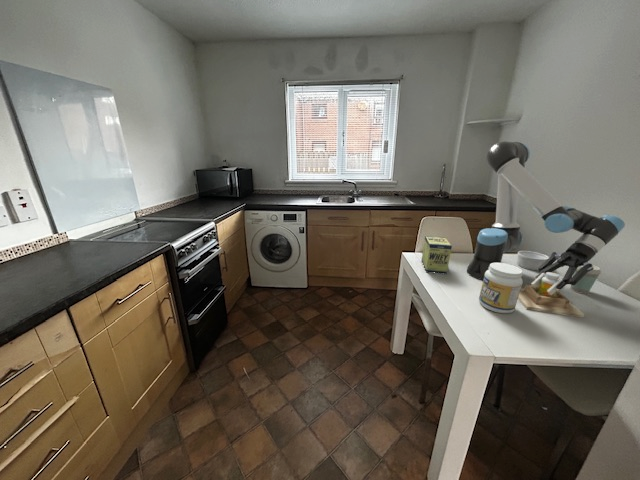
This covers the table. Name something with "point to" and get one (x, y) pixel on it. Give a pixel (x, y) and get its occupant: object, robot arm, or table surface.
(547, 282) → the supplement bottle
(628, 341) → the table surface
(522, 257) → the ramekin
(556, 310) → the birch rack
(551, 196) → the robot arm
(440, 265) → the protein box
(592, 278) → the coffee cup
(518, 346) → the table surface
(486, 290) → the supplement tub
